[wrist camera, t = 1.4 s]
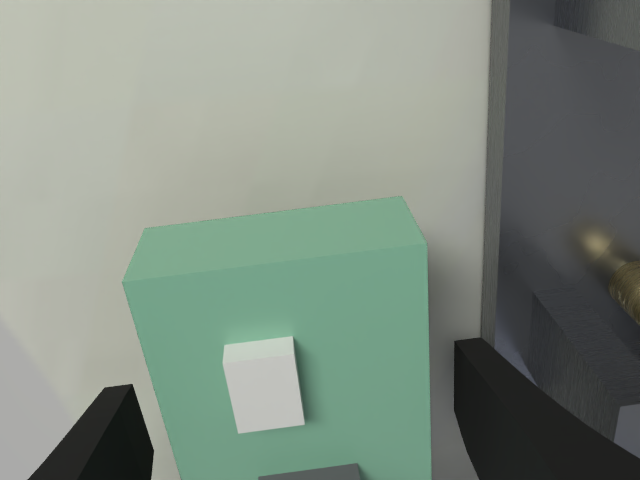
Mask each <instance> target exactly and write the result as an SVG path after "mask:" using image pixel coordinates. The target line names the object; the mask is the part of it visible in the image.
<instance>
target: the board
mask: <svg viewBox="0 0 640 480" xmlns="http://www.w3.org/2000/svg"><path fill="white" fill-rule="evenodd" d="M122 284H123V287H124V290H125V294H126V297H127V300H128V304H129V307H130V310H131V314H132V317H133V320H134V324H135V327H136V330H137V334H138V337H139V340H140V344H141V347H142V350H143V354H144V357H145V360H146V364H147V367H148V370H149V374H150V377H151V380H152V384H153V387H154V390H155V394H156V397H157V400H158V404H159V407H160V410H161V414H162V417H163V420H164V424H165V427H166V430H167V434H168V437H169V440H170V444H171V447H172V450H173V454H174V457H175V460H176V464H177V467H178V470H179V474H180V477H181V480H432V476H431V423H430V369H429V316H428V263H427V242H426V240H425V238H424V236H423V234H422V232H421V231H420V229H419V227H418V225H417V223H416V221H415V219H414V217H413V216H412V214H411V212H410V210H409V208H408V206H407V204H406V202H405V200H404V199H403V197H402V196H398V197H391V198H383V199H375V200H367V201H359V202H351V203H343V204H335V205H327V206H319V207H311V208H303V209H295V210H287V211H279V212H271V213H263V214H255V215H247V216H239V217H231V218H223V219H215V220H207V221H199V222H191V223H183V224H175V225H167V226H159V227H151V228H145V229H144V232H143V234H142V236H141V239H140V241H139V243H138V246H137V248H136V250H135V253H134V255H133V257H132V260H131V262H130V264H129V267H128V269H127V271H126V274H125V276H124V279H123V281H122Z"/></svg>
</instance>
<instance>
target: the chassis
mask: <svg viewBox="0 0 640 480" xmlns="http://www.w3.org/2000/svg"><path fill="white" fill-rule="evenodd" d="M481 337H482V338H483V339H484V340H485V341H486V342H488V343H489V344H490V345H491V346H492V347H493V348H494V349H495V350H496V351H498V352H499V353H500V354H501V355H502V356H503V357H504V358H505V359H506V360H507V361H509V362H510V363H511V364H512V365H513V366H514V367H515V368H516V369H518V370H519V371H520V372H521V373H522V374H523V375H524V376H526V377H527V378H528V379H529V380H530V381H531V382H533V383H534V384H535V385H536V386H537V387H539V388H540V389H541V390H542V391H544V392H545V393H546V394H547V395H548V396H550V397H551V398H552V399H553V400H555V401H556V402H557V403H558V404H560V405H561V406H562V407H564V408H565V409H566V410H567V411H569V412H570V413H572V414H573V415H574V416H576V417H577V418H578V419H580V420H581V421H582V422H584V423H585V424H587V425H588V426H589V427H591V428H592V429H594V430H595V431H597V432H598V433H600V434H601V435H603V436H604V437H606V438H608V439H609V440H611V441H612V442H614V443H616V444H617V445H619V446H620V447H622V448H623V449H625V450H627V451H628V452H630V453H632V454H633V455H635V456H637V457H638V458H640V0H492V23H491V54H490V85H489V117H488V148H487V179H486V210H485V242H484V273H483V304H482V335H481Z"/></svg>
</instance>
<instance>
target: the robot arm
mask: <svg viewBox="0 0 640 480" xmlns="http://www.w3.org/2000/svg"><path fill="white" fill-rule="evenodd" d="M454 411H455V415H456V418H457V421H458V425H459V428H460V431H461V435H462V438H463V441H464V444H465V447H466V450H467V453H468V455H469V457H470V460H471V462H472V464H473V466H474V469H475V471H476V473H477V476H478V478H479V480H640V458H638V457H637V456H635V455H633V454H632V453H630V452H628V451H627V450H625V449H623V448H622V447H620V446H619V445H617V444H616V443H614V442H612V441H611V440H609V439H608V438H606V437H604V436H603V435H601V434H600V433H598V432H597V431H595V430H594V429H592V428H591V427H589V426H588V425H587V424H585V423H584V422H582V421H581V420H580V419H578V418H577V417H576V416H574V415H573V414H572V413H570V412H569V411H567V410H566V409H565V408H564V407H562V406H561V405H560V404H558V403H557V402H556V401H555V400H553V399H552V398H551V397H550V396H548V395H547V394H546V393H545V392H544V391H542V390H541V389H540V388H539V387H537V386H536V385H535V384H534V383H533V382H531V381H530V380H529V379H528V378H527V377H526V376H524V375H523V374H522V373H521V372H520V371H519V370H518V369H516V368H515V367H514V366H513V365H512V364H511V363H510V362H509V361H507V360H506V359H505V358H504V357H503V356H502V355H501V354H500V353H499V352H498V351H496V350H495V349H494V348H493V347H492V346H491V345H490V344H489V343H488V342H486V341H485V340H484V339H483V338H482V337H481V338H473V339H466V340H458V341H455V342H454ZM153 455H154V449H153V446H152V443H151V440H150V437H149V434H148V431H147V428H146V425H145V422H144V418H143V415H142V412H141V409H140V406H139V403H138V400H137V397H136V394H135V390H134V387H133V384H128V385H121V386H113V387H106V388H104V389H103V390H102V392H101V393H100V394H99V395H98V396H97V398H96V399H95V400H94V401H93V403H92V404H91V405H90V406H89V407H88V409H87V410H86V411H85V412H84V414H83V415H82V416H81V417H80V419H79V420H78V421H77V422H76V424H75V425H74V426H73V427H72V428H71V430H70V431H69V432H68V433H67V435H66V436H65V437H64V438H63V440H62V441H61V442H60V443H59V444H58V446H57V447H56V448H55V449H54V450H53V451H52V453H51V454H50V455H49V456H48V457H47V459H46V460H45V461H44V462H43V463H42V464H41V466H40V467H39V468H38V469H37V470H36V471H35V472H34V473H33V474H32V475H31V477H30V478H29V479H28V480H151V476H152V465H153Z"/></svg>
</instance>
